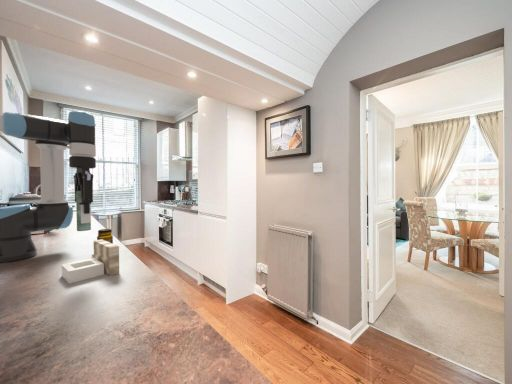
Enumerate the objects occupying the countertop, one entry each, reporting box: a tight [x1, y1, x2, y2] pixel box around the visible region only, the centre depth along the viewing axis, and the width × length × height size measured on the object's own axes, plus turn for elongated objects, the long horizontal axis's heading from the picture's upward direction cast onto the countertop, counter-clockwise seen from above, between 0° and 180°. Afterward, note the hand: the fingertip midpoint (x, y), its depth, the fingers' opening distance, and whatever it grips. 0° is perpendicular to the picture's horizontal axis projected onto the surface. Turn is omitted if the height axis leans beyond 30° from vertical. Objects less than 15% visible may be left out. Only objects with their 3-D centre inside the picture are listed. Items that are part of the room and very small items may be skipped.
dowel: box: [75, 191, 92, 232], centre depth 82 cm, size 4×4×14 cm
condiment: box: [90, 228, 114, 259], centre depth 105 cm, size 7×8×12 cm
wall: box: [93, 239, 120, 277], centre depth 88 cm, size 17×3×10 cm, turn 51°
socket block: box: [61, 258, 105, 284], centre depth 82 cm, size 10×10×4 cm
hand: (84, 222), depth 82 cm, fingers closed on dowel, 4 cm apart
